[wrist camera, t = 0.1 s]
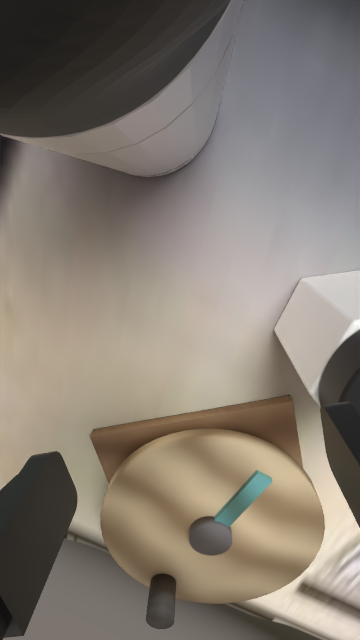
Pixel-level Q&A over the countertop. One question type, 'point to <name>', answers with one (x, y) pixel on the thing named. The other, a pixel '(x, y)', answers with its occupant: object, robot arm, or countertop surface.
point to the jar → (325, 336)
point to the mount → (251, 418)
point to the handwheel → (210, 519)
